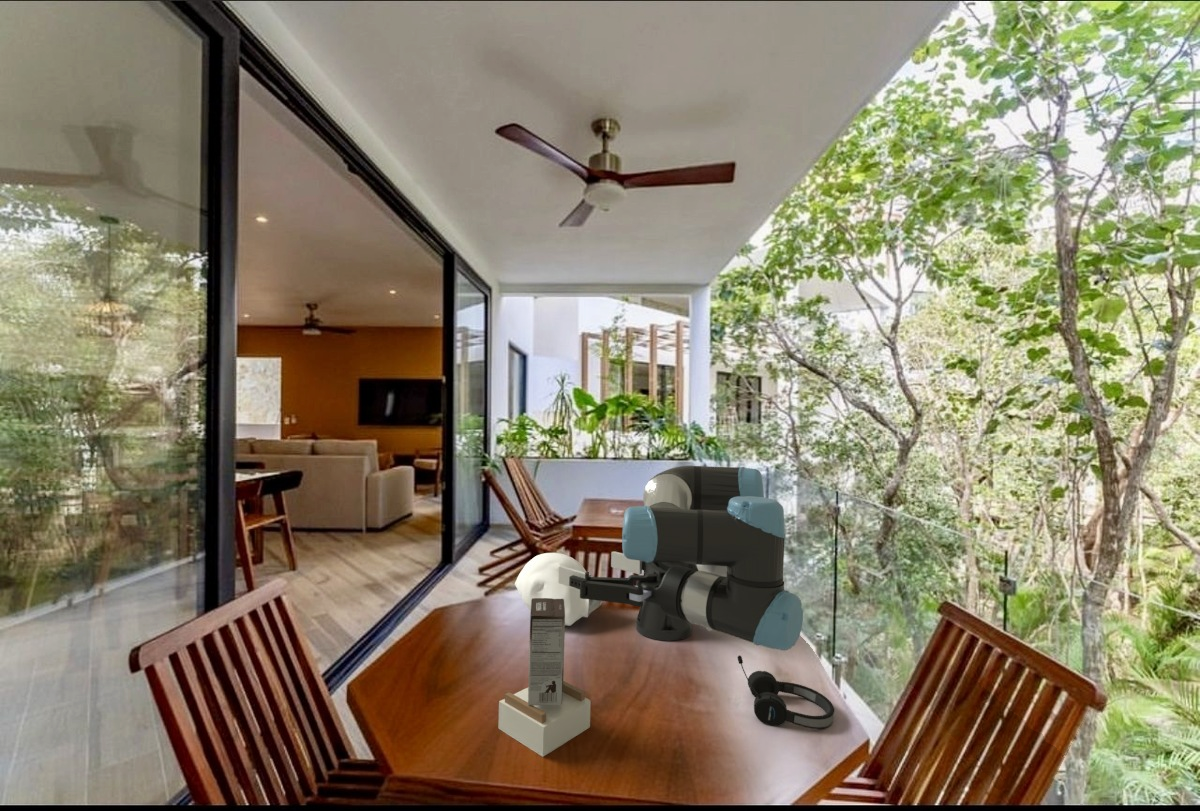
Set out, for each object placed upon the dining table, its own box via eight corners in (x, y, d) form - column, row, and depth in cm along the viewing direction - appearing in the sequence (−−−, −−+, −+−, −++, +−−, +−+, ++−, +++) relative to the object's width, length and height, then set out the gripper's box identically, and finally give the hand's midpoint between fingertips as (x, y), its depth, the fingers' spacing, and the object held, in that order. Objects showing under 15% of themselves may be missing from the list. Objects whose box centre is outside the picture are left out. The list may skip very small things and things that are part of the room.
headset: (735, 644, 116) (828, 663, 113) (729, 686, 116) (822, 706, 113) (741, 672, 104) (846, 695, 101) (734, 720, 104) (839, 743, 101)
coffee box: (529, 680, 105) (531, 597, 105) (562, 680, 105) (564, 597, 105) (526, 706, 95) (529, 615, 96) (563, 705, 96) (565, 614, 96)
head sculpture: (569, 656, 143) (500, 613, 156) (609, 614, 159) (543, 578, 171) (573, 603, 137) (501, 563, 149) (614, 565, 153) (546, 532, 165)
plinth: (545, 703, 109) (546, 670, 109) (589, 727, 101) (590, 692, 101) (498, 728, 100) (499, 693, 100) (542, 757, 92) (543, 718, 92)
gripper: (642, 647, 71) (534, 605, 85) (731, 600, 90) (630, 573, 104) (644, 589, 71) (535, 558, 85) (732, 555, 90) (631, 534, 104)
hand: (587, 566), depth 94 cm, fingers open, 13 cm apart
